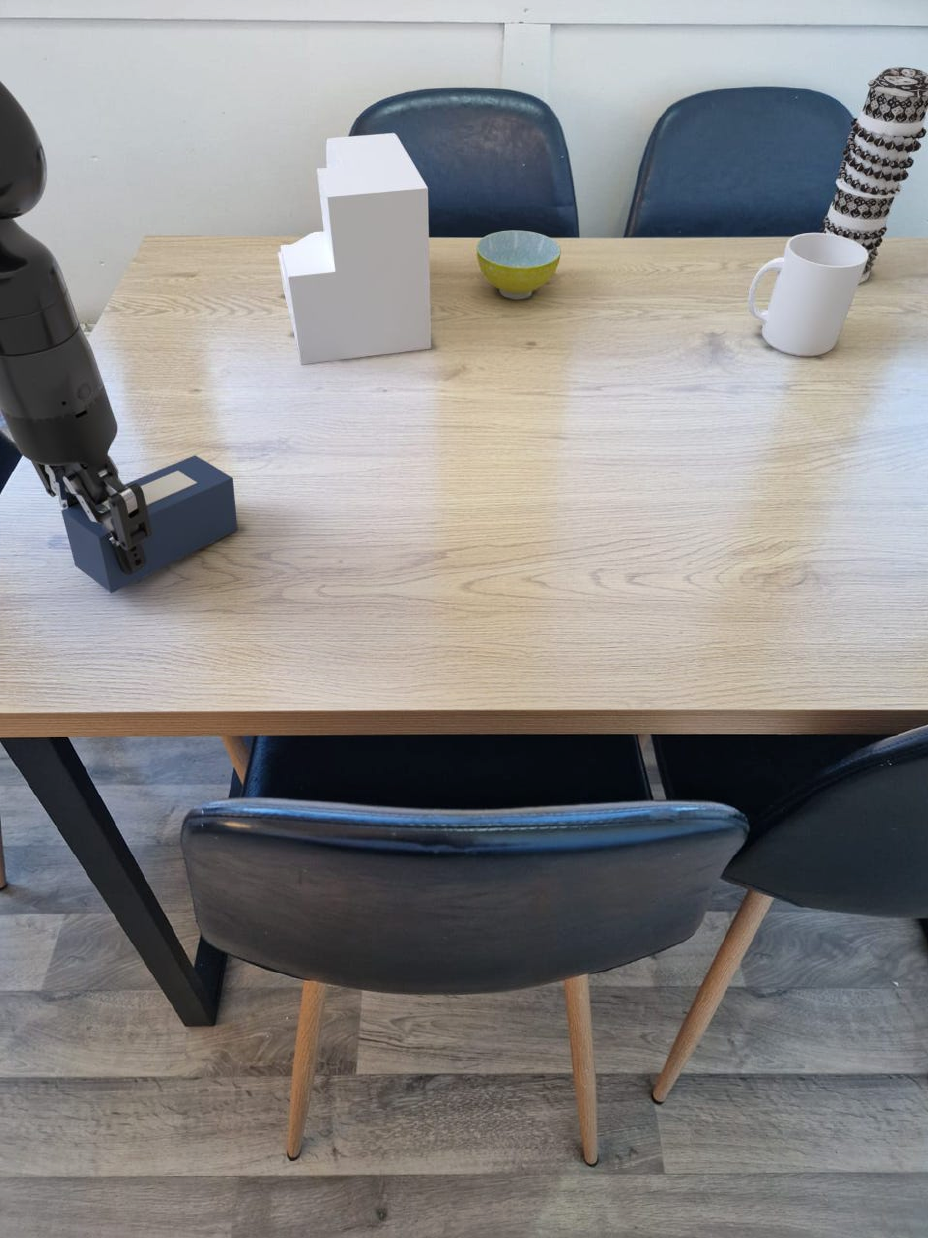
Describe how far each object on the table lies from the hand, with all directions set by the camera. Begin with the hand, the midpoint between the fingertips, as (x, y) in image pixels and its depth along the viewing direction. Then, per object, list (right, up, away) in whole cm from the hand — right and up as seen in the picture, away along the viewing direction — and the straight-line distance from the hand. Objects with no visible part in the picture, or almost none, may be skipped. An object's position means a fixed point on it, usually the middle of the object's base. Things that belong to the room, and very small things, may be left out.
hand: (114, 552), depth 75 cm
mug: (+73, +30, +34) cm, 86 cm away
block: (+16, +36, +38) cm, 54 cm away
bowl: (+39, +40, +42) cm, 69 cm away
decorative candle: (+86, +45, +47) cm, 108 cm away
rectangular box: (+3, +1, +4) cm, 5 cm away
